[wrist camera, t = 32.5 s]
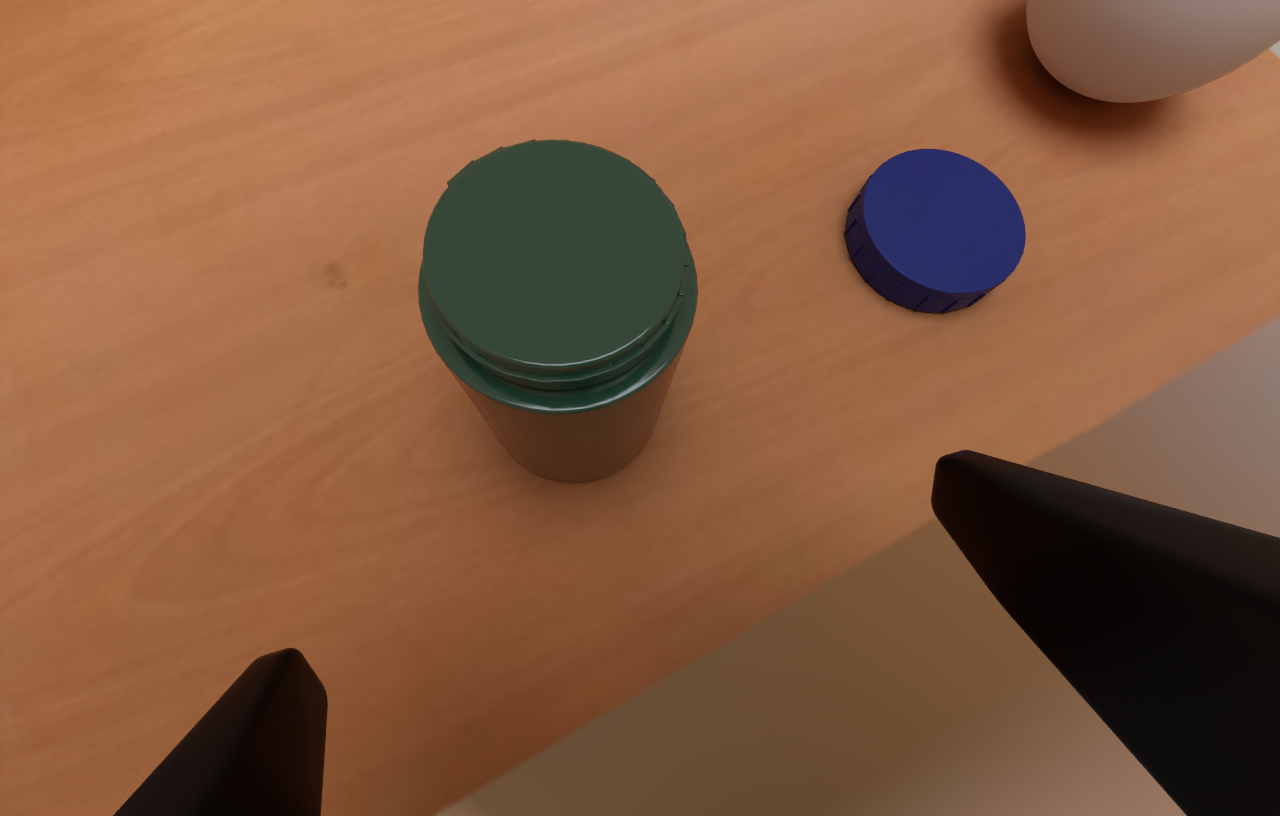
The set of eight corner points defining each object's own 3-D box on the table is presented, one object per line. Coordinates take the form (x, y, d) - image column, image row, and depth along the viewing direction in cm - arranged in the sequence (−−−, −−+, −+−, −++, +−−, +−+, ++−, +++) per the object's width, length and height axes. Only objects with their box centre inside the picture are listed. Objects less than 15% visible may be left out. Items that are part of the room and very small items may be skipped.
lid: (1008, 320, 25) (1039, 301, 23) (846, 306, 24) (865, 285, 23) (989, 183, 27) (1016, 156, 25) (840, 168, 26) (857, 139, 25)
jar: (690, 394, 23) (769, 238, 12) (581, 519, 21) (567, 461, 11) (569, 296, 23) (547, 71, 13) (456, 408, 22) (327, 253, 11)
